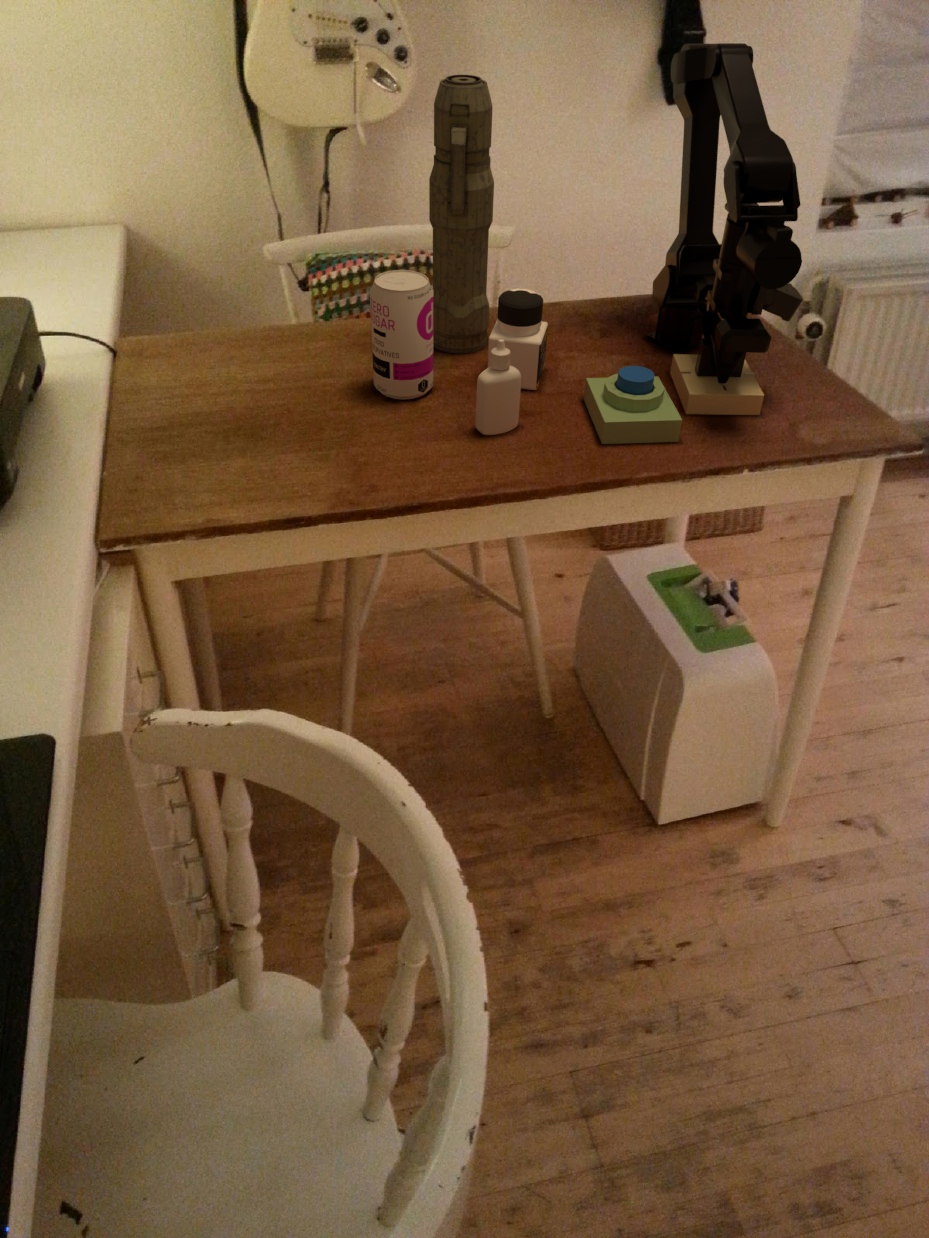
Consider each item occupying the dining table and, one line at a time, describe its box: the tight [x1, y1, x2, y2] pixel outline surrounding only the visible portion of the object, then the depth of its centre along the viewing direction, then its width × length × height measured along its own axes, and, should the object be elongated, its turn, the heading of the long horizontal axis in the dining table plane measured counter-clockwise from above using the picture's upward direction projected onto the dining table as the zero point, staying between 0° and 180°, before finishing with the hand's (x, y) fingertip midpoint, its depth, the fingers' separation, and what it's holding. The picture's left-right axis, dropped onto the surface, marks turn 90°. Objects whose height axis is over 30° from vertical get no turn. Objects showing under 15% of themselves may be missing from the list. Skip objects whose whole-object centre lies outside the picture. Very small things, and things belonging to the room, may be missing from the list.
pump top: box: [616, 365, 655, 395], centre depth 122 cm, size 5×5×2 cm
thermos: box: [428, 74, 495, 354], centre depth 132 cm, size 9×12×35 cm
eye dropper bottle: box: [474, 339, 522, 436], centre depth 120 cm, size 4×6×12 cm
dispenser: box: [583, 373, 683, 445], centre depth 124 cm, size 12×10×5 cm
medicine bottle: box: [487, 288, 549, 391], centre depth 131 cm, size 7×7×12 cm
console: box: [669, 353, 765, 416], centre depth 131 cm, size 12×10×3 cm
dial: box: [695, 339, 747, 377], centre depth 129 cm, size 6×2×5 cm, turn 90°
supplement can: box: [369, 269, 434, 400], centre depth 126 cm, size 8×8×15 cm
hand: (717, 372), depth 130 cm, fingers open, 6 cm apart
